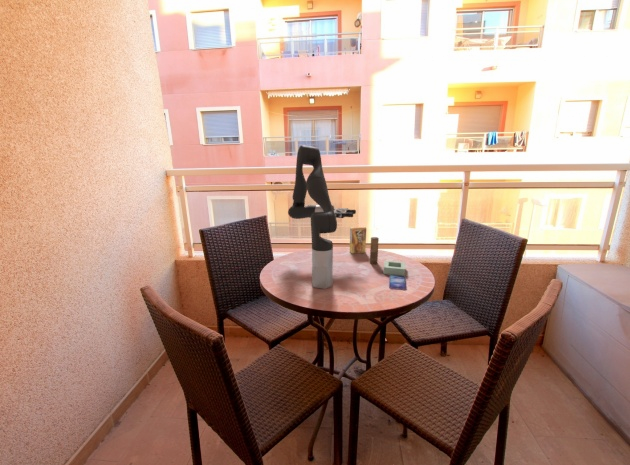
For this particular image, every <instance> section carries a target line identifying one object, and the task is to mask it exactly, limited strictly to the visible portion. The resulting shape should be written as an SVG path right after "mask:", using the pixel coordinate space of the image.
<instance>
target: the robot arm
mask: <svg viewBox="0 0 630 465" xmlns="http://www.w3.org/2000/svg"><path fill="white" fill-rule="evenodd" d="M296 156H297V157H296V162H295V163H296V164H295V165H296V167H295V179H294V180H295V181H294V187H293V192H292V201H293V203H292V205H291V206H290V207H289V208H288V211H287V214H288V216H289V218H291V219H294V220H297V219H299V220H300V219H307V218H310V231H311V233H310V234H311V274H312V275H311V278H312V279H311V281H312V288H314V289H315V288H316V289H324V290H326V289H328V288H330V287H332V286H333V282H334V281H333V279H334V278H333V277H334V276H333V275H334V273H333V272H334V271H333V270H334V269H333V268H334V262H333V261H334V260H333V258H334V256H333V255H334V254H333V253H334V251H333V250H334V244H333V241H332V240H330V239H328V238H324V237H321V236H320V234H332V233H335V232H336V231H337V229H338V221H337V218H339V219H344V218H353V217H354V215H356V213H357V211H356V209H349V208H347V207H346V208H345V207H337V208H335V206H334V205H332V202H331V199H330V193H329V190H328V186H327V181H326V178H325V173H324V170H323V164H322V157H321V156H322V155H321V151H320V148H318V147H316V146H310V145H300V146H299V147H298V149H297V153H296ZM304 165H307V166H312V167H313V169H312V170H311V172H310V173H309V175H308V176H307V178H305V176H304V175H305V174H304V171H303V167H304ZM307 194H308V195H309V197H310V198H311V200H313V201H314V202H315V203H316V204H308V205H306V204H305V202H306V201H305V200H306V197H307ZM305 205H306V206H305Z"/></svg>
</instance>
